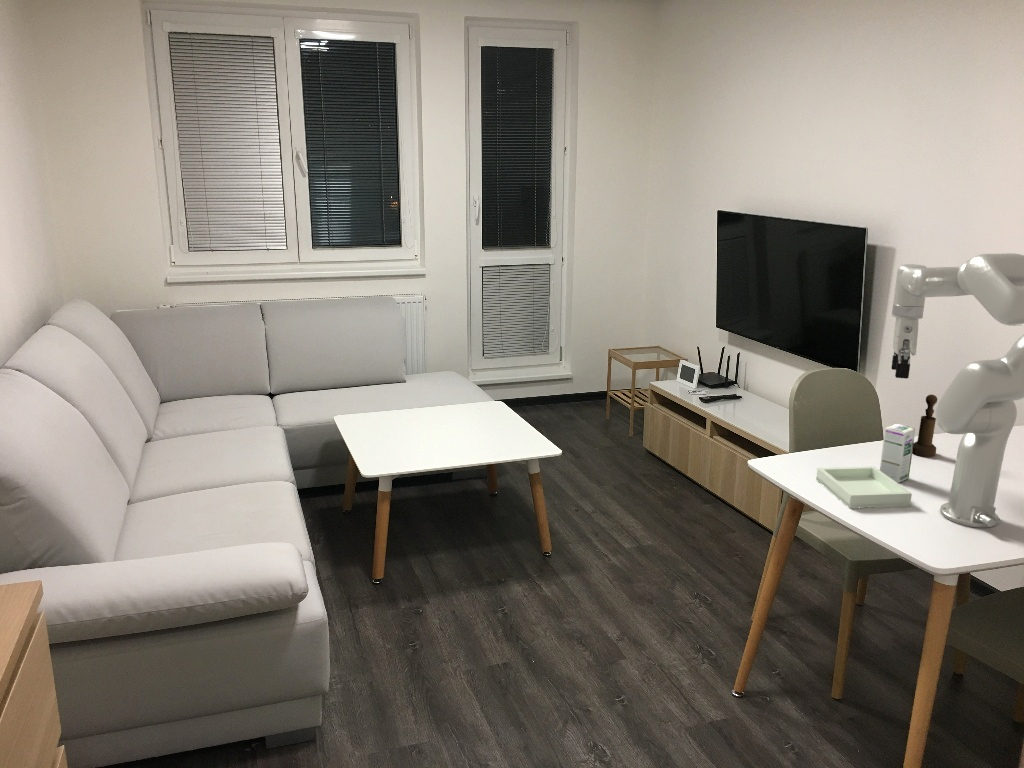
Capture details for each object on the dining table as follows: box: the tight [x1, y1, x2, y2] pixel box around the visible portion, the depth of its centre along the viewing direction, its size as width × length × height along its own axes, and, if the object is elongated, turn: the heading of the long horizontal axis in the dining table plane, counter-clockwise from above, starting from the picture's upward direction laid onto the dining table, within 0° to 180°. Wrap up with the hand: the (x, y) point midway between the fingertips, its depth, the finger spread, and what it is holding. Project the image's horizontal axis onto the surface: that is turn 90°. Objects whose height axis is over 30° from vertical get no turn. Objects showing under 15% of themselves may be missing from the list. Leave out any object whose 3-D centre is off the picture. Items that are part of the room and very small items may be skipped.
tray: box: [815, 465, 913, 509], centre depth 213 cm, size 18×16×4 cm
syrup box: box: [879, 423, 916, 484], centre depth 222 cm, size 6×6×14 cm
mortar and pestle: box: [912, 394, 938, 458], centre depth 239 cm, size 7×6×18 cm
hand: (899, 373), depth 223 cm, fingers open, 9 cm apart
